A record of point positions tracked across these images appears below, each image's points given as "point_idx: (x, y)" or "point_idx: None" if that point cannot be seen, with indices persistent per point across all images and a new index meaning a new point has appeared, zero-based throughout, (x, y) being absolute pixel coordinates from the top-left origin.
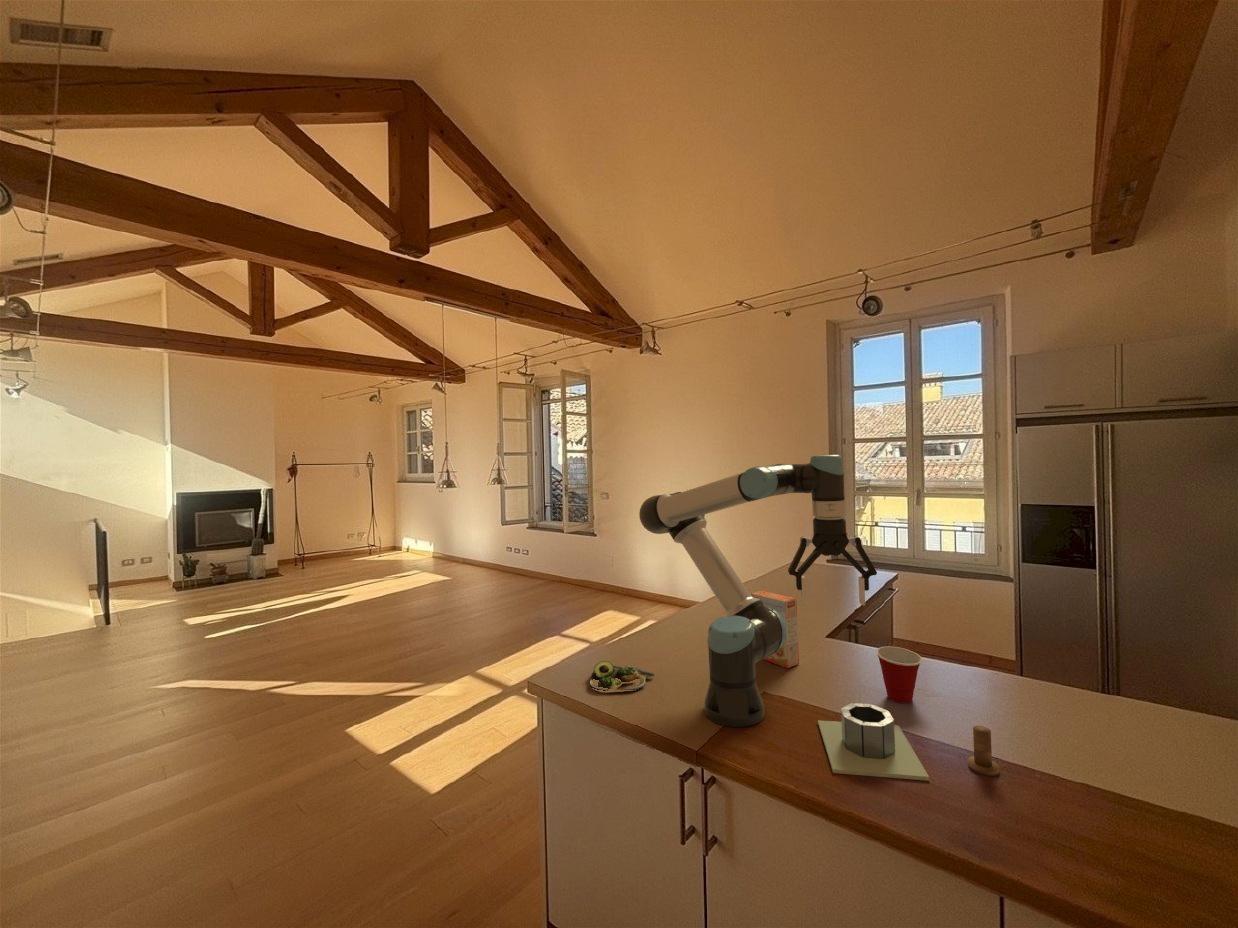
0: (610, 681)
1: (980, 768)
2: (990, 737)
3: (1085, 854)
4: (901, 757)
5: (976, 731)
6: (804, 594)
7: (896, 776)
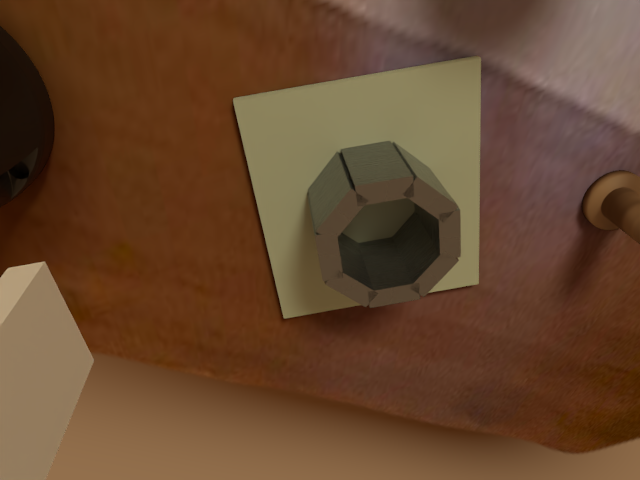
0: None
1: (600, 227)
2: None
3: (629, 375)
4: None
5: None
6: (43, 450)
7: None
